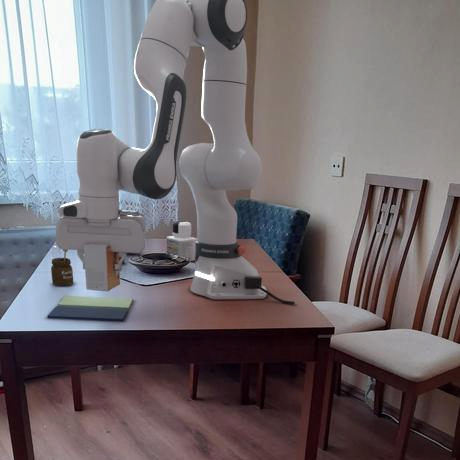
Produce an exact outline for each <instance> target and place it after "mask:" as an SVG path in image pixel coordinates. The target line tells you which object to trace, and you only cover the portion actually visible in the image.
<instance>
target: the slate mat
mask: <svg viewBox="0 0 460 460" xmlns="http://www.w3.org/2000/svg"><path fill="white" fill-rule="evenodd" d="M128 312H129V310H128V309H110V308H87V307H65V306H58V305H56V306H55V307H54V308H53V309H52V310H51V311H50V312H49V314H48V315H47V319H61V320H62V319H63V320H84V321H103V322H104V321H108V322H124V321H125V318H126V316H127V314H128Z"/></svg>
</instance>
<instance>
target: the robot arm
mask: <svg viewBox="0 0 460 460" xmlns="http://www.w3.org/2000/svg"><path fill="white" fill-rule="evenodd" d="M247 22H248V9H247V4H246V2H245V0H155V1H154V3H153V5H152V7H151V8H150V11H149V13H148V16H147V18H146V20H145V23H144V26H143V27H142V28H143V29H142V32H141V34H140V38H139V41H138V44H137V48H136V51H135V56H134V62H133V64H134V65H133V71H134V76H135V78H136V80H137V82H138V84H139V85H140V87H141V88H142V89H143V90H144V91H145V92H146V93H147V94H149V95H150V96H151V97H153V99H154V100H155V102H156V111H155V112H156V113H155V118H154V123H153V130H152V136H151V140H150V143H149V145H148V146H147V147H146V148H137V147H133V146H131V145H130V144H128V143H126V142H124V141H123V140H121V139H120V138H119V137H117V136H116V135H115V133H114V132H113V130H112V129H107V128H98V129H97V128H94V129H88V130H85V131H83V132H82V133H81V134H79V136H78V139H77V143H76V173H77V178H78V180H79V188H78V200H72V201H70V202H67V203H65V204H62V205H61V206H59V208H58V215H59V217H60V218H58V220H57V221H56V225H55V245H56V246H57V248H58V247H59V248H58V249H59V250H63V249H67V250H68V251H69V250H70V251H76V254H77V256H78V258H79V259H80V262H81V263H82V270H84V271H85V259H84V245H85V244H106V245H110V248H111V252H119V257H121V256H122V257H121V259H120V261H119V262H116V263H115V264H114V265H115V271H120V272H122V270H123V264H122V262H123V260H124V261H125V259H126V258H127V257H126V256H127V254H130V253H132V254H141V253H143V252H144V251H145V249H146V239H145V238H146V237H145V232H144V231H145V230H146V226H147V224H146V223H147V222H146V217H145V215H144V214H143V213H142V212H141V213H140V211H139V210H127V209H126V210H125V209H120V193H119V192H120V191H122V192H127V193H130V194H135V195H140V196H142V197H145V198H149V199H152V200H161V199H164V198H165V197H167V196H168V195H169V194H170V193H171V191H172V190H173V188H174V187H175V184H176V182H177V174H178V173H177V171H178V167H177V166H178V164H179V171H180V175H181V176H182V178H183V179H184V180H185V181H186V183H187V184H188V187H189V188H190V190H191V193H192V196H193V200H194V204H195V208H196V238H197V240H196V243H195V260H194V261H195V264H194V272H193V278H192V282H191V284H190V285H191V286H190V288H189V290H190V291H191V292H192V293H194V294H196V295H199V296H203V297H206V298H208V299H211V300H261V299H265V298H267V296H270V297H271V298H272V299H274V300H276V301H277V302H279V303H283V304H287V305H295V301H293V300H285V299H281V298H279V297H277V296H276V295H274V294H273V293H271V292H270V291H268V290H267V288H266V287H265V286H264V285H262V280H263V278H262V277H261V275H260V274H259V271H258V270H257V268H256V267H255V266H254V265H252V263H250V262H249V260H247V259H246V258H245V257H243V255H244V254H245V252H246V249H245V247H244V246H243V245H242V244H241V243H239V242H238V241H237V232H238V231H237V229H238V213H237V211H236V209H235V208H234V207H233V206H232V204H230V202H229V199H228V197H227V192H226V191H230V192H244V191H250V190H253V189H254V188H255V187H256V186H257V185H258V184H259V182H260V180H261V177H262V174H263V173H262V172H263V164H262V159H261V157H260V156H259V154H258V153H257V152H256V150H255V149H254V147H253V145H252V143H251V141H250V138H249V134H248V130H247V125H246V99H247V98H246V96H247V83H248V82H247V80H248V58H247V45H246V42H245V40H244V35H245V31H246V27H247ZM191 47H201V48H202V50H203V55H204V62H203V63H204V65H203V72H202V88H201V89H202V92H201V109H200V110H201V111H200V112H201V118H202V119H203V121H204V123H205V124H207V125H208V127H209V129H210V130H211V134H212V138H213V143H209V142H198V143H194V144H191V145H188V146H187V147H186V146H185V148H184V149H183V150H182V152H181V154H180V157H179V161H178V152H179V146H180V141H181V140H180V139H181V135H182V128H183V123H184V118H185V112H186V110H185V109H186V105H187V86H186V83H185V81H184V78H185V70H186V66H187V62H188V59H189V56H190V55H189V54H190V51H191Z"/></svg>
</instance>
